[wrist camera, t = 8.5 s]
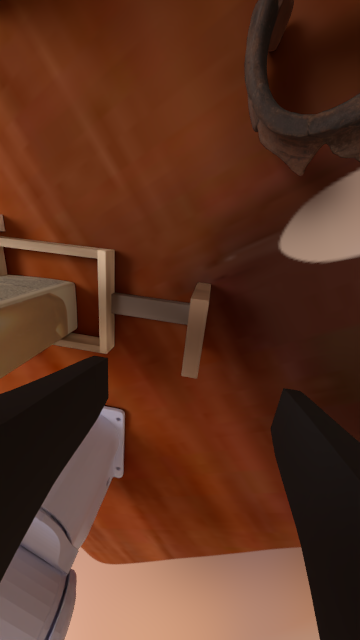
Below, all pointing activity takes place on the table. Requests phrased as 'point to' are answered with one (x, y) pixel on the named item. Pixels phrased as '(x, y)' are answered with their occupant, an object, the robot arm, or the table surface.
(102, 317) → the carriage
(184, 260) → the table surface
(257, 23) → the pottery mug
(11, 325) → the skincare box
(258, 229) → the table surface
